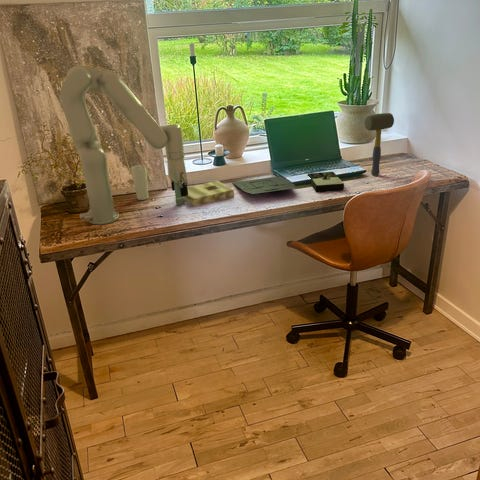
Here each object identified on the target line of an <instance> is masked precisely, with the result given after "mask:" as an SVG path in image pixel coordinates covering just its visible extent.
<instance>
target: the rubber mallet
mask: <svg viewBox="0 0 480 480" xmlns="http://www.w3.org/2000/svg"><path fill="white" fill-rule="evenodd" d="M394 124H395V118H394V115H393V114H392V113H390V112H386V113H385V112H384V113H374V114H369V115H367V116H366V117H365V119H364V128H365V129H366V130H367V131H375V137H374V139H375V140H374V147H373V150H372V165H371V166H372V167H371V171H370V173H371V175H372V176H373V177H374V176H375V177H378V176H379V174H380V172H381V171H380V162H381V156H382V155H381V154H382V148H381V141H382V139H381V138H382V130H386V129H391V128H392V127H393V126H394Z"/></svg>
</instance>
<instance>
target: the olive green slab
mask: <svg viewBox="0 0 480 480" xmlns="http://www.w3.org/2000/svg"><path fill="white" fill-rule="evenodd" d="M187 188H188V195H187V196H184V201H186V202H187V203H188V204H190V205H191V206H193V207H198V206H202V205H206V204H211V203H214V202H218V201H222V200H226V199H231V198H235V189H233V188H232V187H230V186H228V185H226V184H224V183H222V182H221V181H219V180H215V181H210V182H205V183H200V184H196V185H192V186H188V187H187Z"/></svg>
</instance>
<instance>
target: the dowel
mask: <svg viewBox="0 0 480 480" xmlns="http://www.w3.org/2000/svg"><path fill="white" fill-rule="evenodd" d="M180 181H181V180H180ZM174 188H175V190H174V197H175V204H176V205H175V206H177V207H183V206H185V200H184V196H183V197H182V196H181V192H180V188H181V187H180V184H179V182H178V183H175V182H174Z"/></svg>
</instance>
